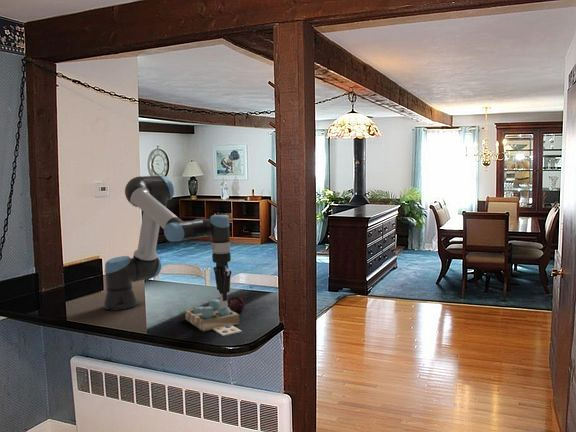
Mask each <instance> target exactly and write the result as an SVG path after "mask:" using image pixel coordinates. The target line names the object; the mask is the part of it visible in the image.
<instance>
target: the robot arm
mask: <svg viewBox="0 0 576 432" xmlns="http://www.w3.org/2000/svg"><path fill="white" fill-rule="evenodd" d="M124 195H125V198H126V199H127V201H128V203H130V205H132V206H133V207H135V208H139V209H140V210H141V211H142V218H141V223H140V224H141V225H140V231H139V237H138V238H139V239H138V244H137V249H135V250H134V252H133V257H132V258H131V257H130V256H128V255H123V256H117V257H112V258H110V259H108V260H107V261H106V262H105V266H104V273H105V283H106V284H105V286H106V294H105V297H104V301H103V308H104V307H105V308H108V309H124V310H128V309H127V308H129V309H132V308H134V306H135V307H136V306H137V305H138V301H137V298H136V296H135V293H134V290H133V283H136V282H139V281H144V280H151V279H154V278H156V277H157V276H159V274H160V272H161V269H162V262H161V261H162V260H161V258H160V256H159V254H158V253H157V252H156V251H157V245H158V238H159V233H160V227H161V228H162V229H163V233H164V236H165V239H166V240H167V241H168V242H181V241H185V240H187V241H188V240H193V239H199V238H206V237H207V238H210V239H211V246H210V247H211V251H212V254H211V255H212V256H211V257H212V259H211V260H212V262H213V263H215V266H214V267H213V271H214V278H215V283H216V289H217V291H218V293H219V300H220V308H221V309H224V308H228V306H229V301H228V293H230V291H231V290H230V289H231V276H232V270H229V265H228V263H229V262H231V260H232V257H231V256H232V255H231V237H230V236H231V235H230V221H229V216H228V215H226V214H213V215H211V216H210V218H196V219H193V220H185V221H184V220H182V219H180V218H179V217H178V216H177V215H176V214H174V213H173V212H172V211H171V210H169V209H168V208H167V205H168V201H171V200H172V199H173V197H174V195H175V188H174V184H173V182H172V180H171V179H170V178H169V177H168V176H166V175H147V176H135V177H133V178H131V179H130V180H129V181H127V184H126V185H125V188H124ZM131 307H132V308H131Z"/></svg>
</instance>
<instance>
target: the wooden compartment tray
mask: <svg viewBox="0 0 576 432" xmlns="http://www.w3.org/2000/svg"><path fill="white" fill-rule="evenodd" d="M206 307H209V305H208V306H207V305H206ZM184 311H185V312H184V313H185V320H186V321H187V322H189V323H190V324H192V325H193V326H194V327H196V328H198V330H200V331H202V332H207V331H212V330H213V328H215V327H220V326H225V325H230V324H231V325H233V326H235V325H240V314H239V313H238V312H234V311H233V310H232V309H230V315H226V316H221V317H220V316H218V310H216V311H214V318H211V319H206V320H203V319H202V313H200V314H194V312H193V308H192V309H191V308H190V309H185V310H184Z"/></svg>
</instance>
